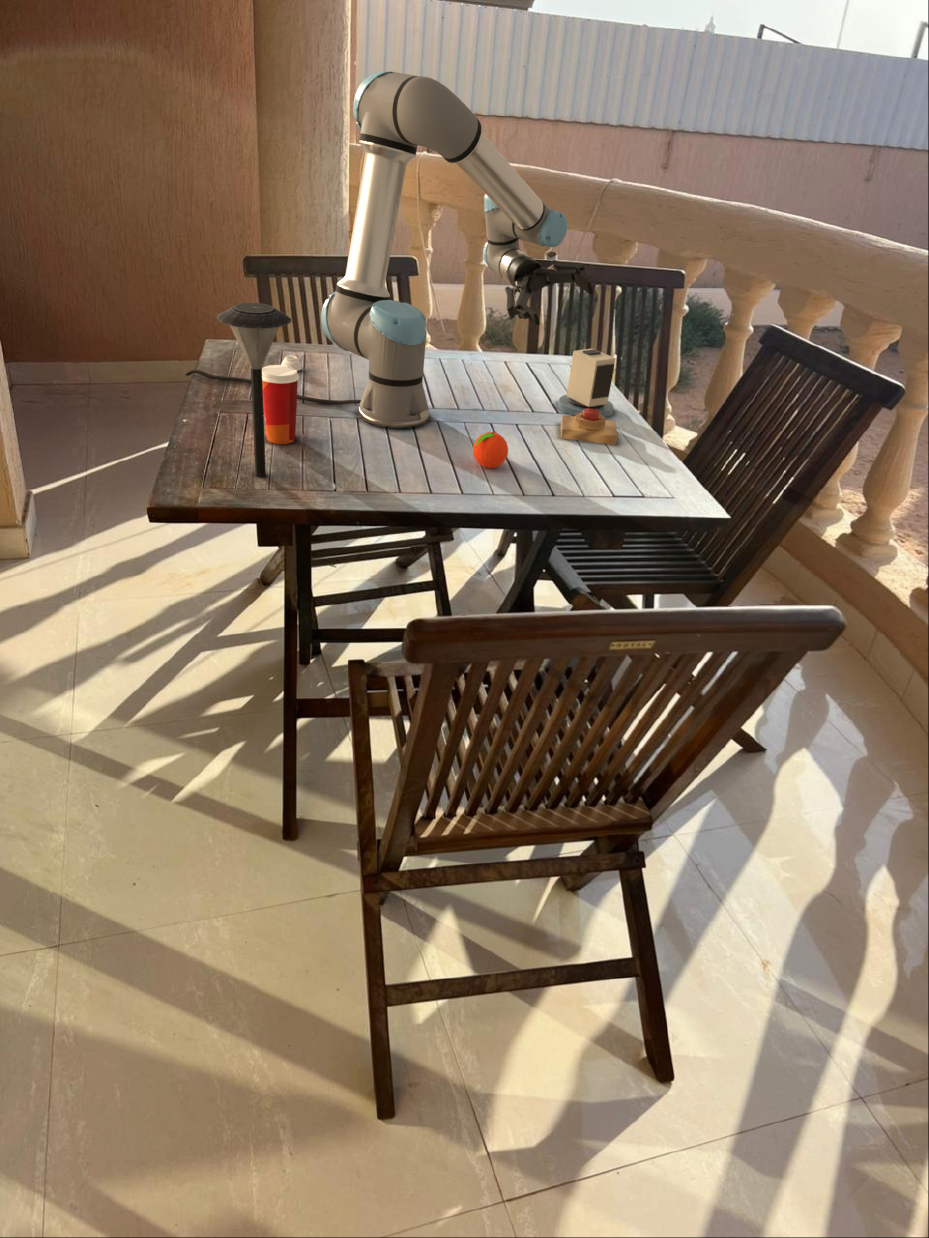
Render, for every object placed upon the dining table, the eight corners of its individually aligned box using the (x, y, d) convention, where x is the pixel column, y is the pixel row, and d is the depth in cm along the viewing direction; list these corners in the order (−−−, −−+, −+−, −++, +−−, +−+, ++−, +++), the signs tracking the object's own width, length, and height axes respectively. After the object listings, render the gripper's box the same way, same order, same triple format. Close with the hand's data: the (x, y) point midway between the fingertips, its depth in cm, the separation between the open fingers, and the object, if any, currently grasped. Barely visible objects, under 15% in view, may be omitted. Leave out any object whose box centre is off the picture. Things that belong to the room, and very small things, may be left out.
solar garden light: (298, 487, 158) (296, 318, 142) (228, 490, 155) (217, 316, 138) (290, 460, 168) (286, 299, 151) (224, 462, 164) (213, 297, 148)
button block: (560, 438, 191) (563, 421, 188) (560, 424, 198) (563, 407, 196) (615, 445, 190) (619, 427, 188) (613, 430, 198) (616, 413, 196)
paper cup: (285, 429, 181) (284, 361, 173) (307, 441, 177) (307, 372, 169) (253, 436, 176) (250, 367, 168) (275, 449, 172) (273, 379, 164)
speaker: (561, 398, 208) (569, 349, 202) (587, 394, 213) (595, 346, 206) (585, 410, 202) (594, 360, 196) (612, 405, 207) (621, 356, 201)
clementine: (483, 477, 169) (487, 442, 165) (460, 465, 173) (463, 430, 170) (513, 469, 174) (517, 435, 170) (489, 457, 178) (493, 423, 174)
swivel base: (558, 415, 203) (559, 408, 202) (557, 397, 214) (558, 391, 213) (614, 421, 203) (615, 415, 202) (610, 403, 214) (611, 397, 213)
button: (582, 420, 191) (583, 413, 190) (582, 415, 194) (583, 407, 193) (598, 422, 191) (600, 414, 190) (598, 417, 194) (599, 409, 193)
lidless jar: (305, 371, 214) (294, 365, 216) (305, 359, 212) (294, 353, 215) (288, 374, 211) (276, 368, 213) (287, 361, 209) (276, 356, 212)
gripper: (571, 260, 209) (616, 291, 194) (481, 311, 208) (519, 346, 193) (563, 231, 203) (608, 260, 188) (470, 283, 202) (509, 317, 188)
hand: (563, 304), depth 191 cm, fingers open, 13 cm apart
